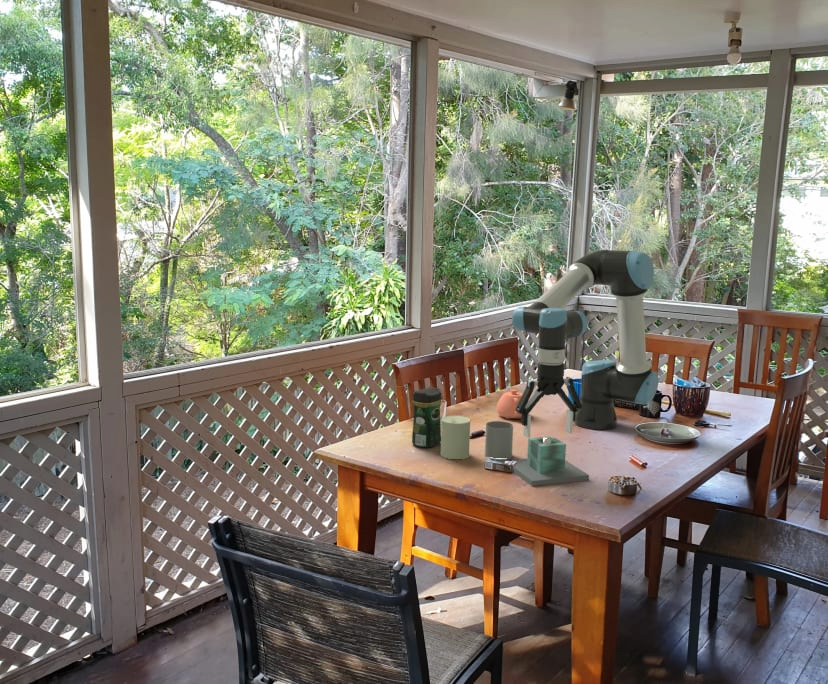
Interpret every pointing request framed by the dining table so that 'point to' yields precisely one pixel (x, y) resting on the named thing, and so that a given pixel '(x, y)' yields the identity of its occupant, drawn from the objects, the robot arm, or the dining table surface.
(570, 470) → the board
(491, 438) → the cup
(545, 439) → the rod
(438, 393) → the coffee jar
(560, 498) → the dining table surface
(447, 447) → the can
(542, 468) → the bead
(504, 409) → the sugar bowl
